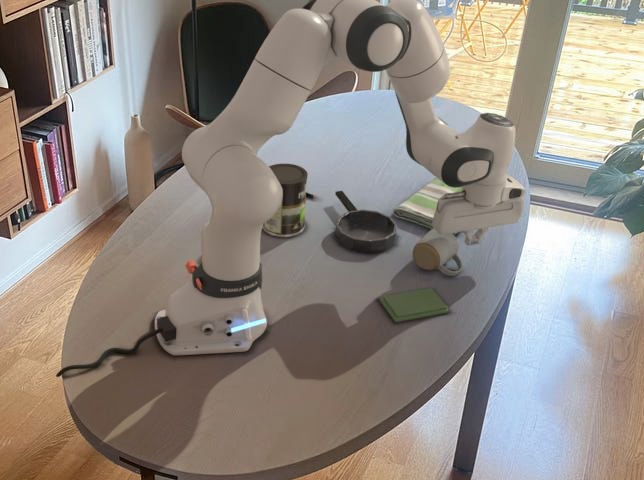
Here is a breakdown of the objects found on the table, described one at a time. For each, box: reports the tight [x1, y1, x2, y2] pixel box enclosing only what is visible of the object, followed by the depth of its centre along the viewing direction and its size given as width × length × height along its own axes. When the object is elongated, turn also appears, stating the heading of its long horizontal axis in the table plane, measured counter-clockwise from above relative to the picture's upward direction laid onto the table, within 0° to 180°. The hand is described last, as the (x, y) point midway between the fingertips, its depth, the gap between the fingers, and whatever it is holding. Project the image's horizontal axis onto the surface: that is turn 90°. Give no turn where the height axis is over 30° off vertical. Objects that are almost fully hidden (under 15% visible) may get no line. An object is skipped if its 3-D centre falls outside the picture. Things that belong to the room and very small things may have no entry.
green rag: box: [379, 287, 450, 323], centre depth 171 cm, size 12×8×1 cm, turn 107°
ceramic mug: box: [412, 228, 463, 277], centre depth 181 cm, size 11×8×8 cm
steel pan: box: [334, 190, 398, 254], centre depth 195 cm, size 14×24×3 cm, turn 17°
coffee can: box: [262, 163, 309, 238], centre depth 192 cm, size 10×10×14 cm
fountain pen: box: [306, 192, 318, 199], centre depth 209 cm, size 14×1×2 cm, turn 56°
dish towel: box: [392, 177, 462, 236], centre depth 202 cm, size 17×23×4 cm
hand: (472, 243), depth 182 cm, fingers closed
